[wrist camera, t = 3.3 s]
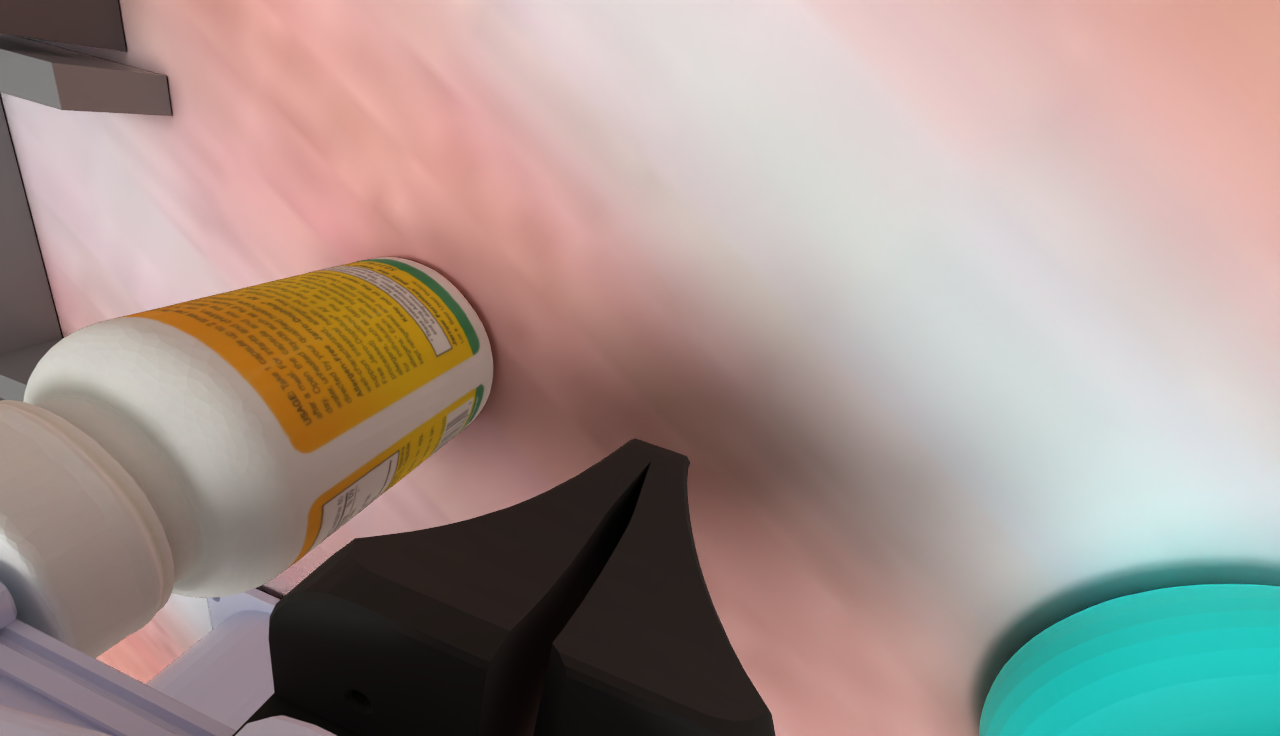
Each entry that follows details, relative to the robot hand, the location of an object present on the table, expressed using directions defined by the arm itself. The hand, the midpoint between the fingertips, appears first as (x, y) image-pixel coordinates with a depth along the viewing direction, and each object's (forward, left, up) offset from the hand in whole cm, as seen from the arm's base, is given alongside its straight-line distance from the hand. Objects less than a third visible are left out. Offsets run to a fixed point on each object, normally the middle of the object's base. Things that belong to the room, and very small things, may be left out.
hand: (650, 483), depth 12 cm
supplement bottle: (0, +8, -3) cm, 8 cm away
